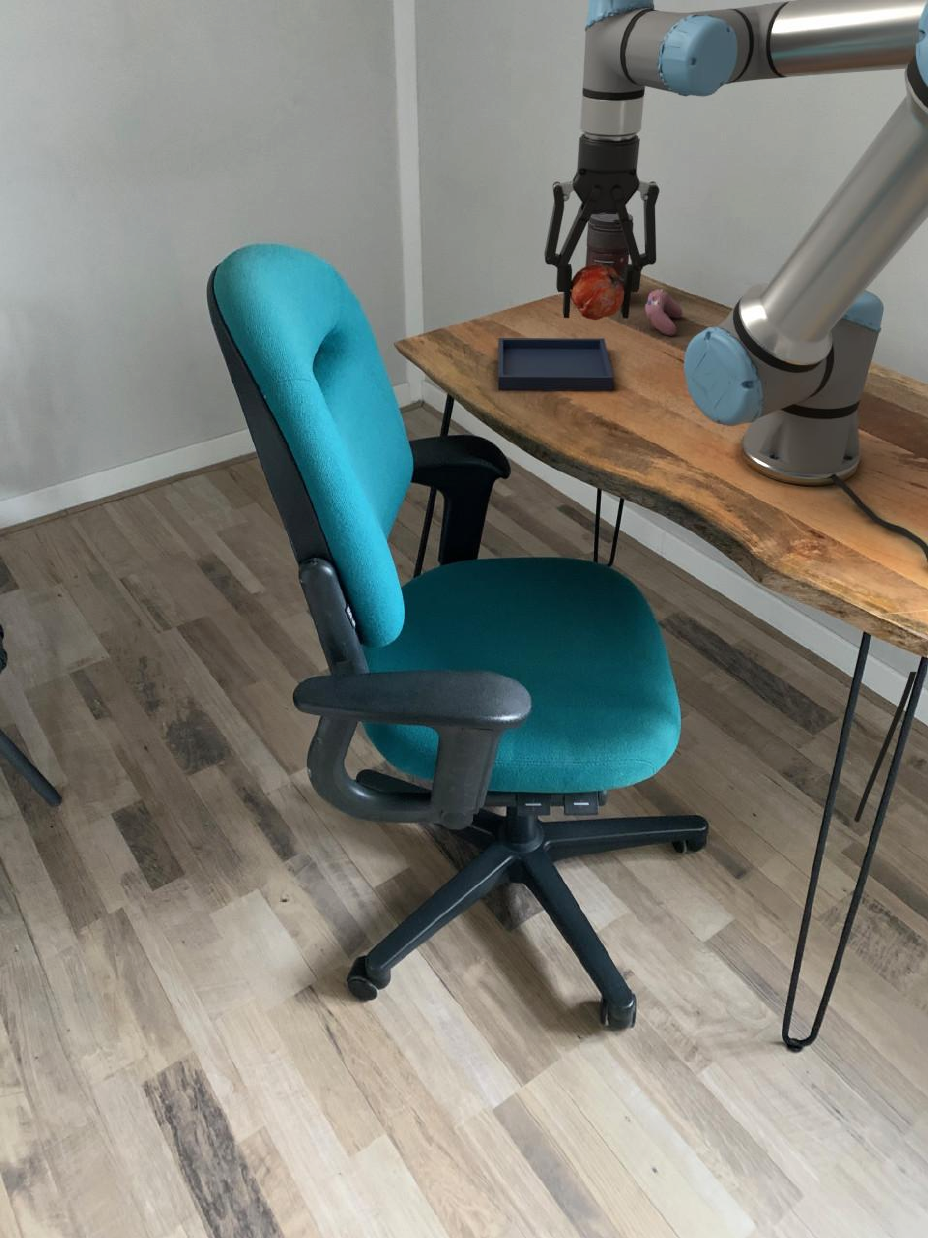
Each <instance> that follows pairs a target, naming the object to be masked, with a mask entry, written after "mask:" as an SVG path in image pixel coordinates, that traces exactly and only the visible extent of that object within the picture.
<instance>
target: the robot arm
mask: <svg viewBox="0 0 928 1238" xmlns="http://www.w3.org/2000/svg"><path fill="white" fill-rule="evenodd" d="M584 31H585V36H584V37H585V39H584V54H583V55H584V56H583V57H584V58H583V73H582V75H583V76H582V91H581V93H582V95H581V107H580V123H579V125H580V126H579V129H580V130H581V132H582V134H581V135H580V136H579V138H578V154H577V168H576V173H575V175H574V177H573V178H572V180H569V181H564V182H560V181H554V182H553V183H552V186H551V189H552V195H553V205H552V210H551V211H552V212H551V215H550V222H549V228H548V232H547V237H546V243H545V249H544V255H543V256H544V262H545V263H546V265H549V266H550V265H551V266H554V267H555V268H556V281H555V282H556V283H555V286H556V291H557V293H563V302H562V315H563V319H570V313H571V300H572V299H571V291H572V290H571V283H572V279H573V267H572V264H571V263H570V262H571V259H572V257H573V254H574V252H575V250H576V248H577V246H578V244H579V242H580V239H581V237H582V235H583V233H584V231H585V228H586V225H588V221H589V219H590V217H591V215H592V214H601V213H608V214H616V213H617V214H618V217H619V221H620V224H621V228H622V231H623V234H624V238H625V241H626V245H627V248H628V251H629V259H630V262H631V263H628V264H625V273H624V280H625V281H624V284H623V287H624V292H625V294H624V302H623V304H622V306H621V307H620V313H621V316H622V319H629V317H630V306H631V298H632V297H631V296H632V293H638V292H639V290H640V285H641V275H642V270H643V269H644V267H646V266H648V265H654V264H656V262H657V232H656V231H657V230H656V229H657V228H656V227H657V225H656V223H657V222H656V205H657V202H658V198H659V195H660V187H659V185H658V183H656V181H654V180H653V181H649V182H647V181H642V180H640V178H639V177H638V162H639V154H640V153H639V152H640V141H641V139H640V137H639V136H638V135H637V134H638V133H639V132H640V131H641V130H642V121H643V110H644V98H645V92H646V90H645V89H646V88H647V87H648V88H652V89H656V90H661V91H665V92H670V93H673V94H677V95H679V96H681V97H689V96H694V97H709V96H712V95H714V94H715V93H717V92H718V91H719V89H721V88H722V87H724V86H725V85H729V84H735V83H742V82H750V81H751V82H752V81H758V80H773V79H774V80H775V79H786V78H792V77H793V78H795V77H807V76H822V75H835V74H849V73H851V74H852V73H864V72H865V73H866V72H877V71H890V70H891V71H893V70H903V69H904V83H905V91H906V95H905V97H904V98H903V100H901V102H900V103H899V105H898V106H897V108H896V109H895V110H894V112H893V113H892V115H891V116H890V117H889V118H888V119H887V121H886V122H885V124H884V125H883V126H882V128H881V129H880V131H879V132H878V134H877V135H876V136H875V137H874V139H873V140H872V141H871V143H870V144H869V146H867V149H866V150H865V151H864V152H863V154H862V155H861V156H860V158H859V159H858V160H857V162H856V163H855V165H854V166H853V167H852V169H851V170H850V171H849V173H848V174H847V175H846V177H845V178H844V179H843V181H842V183H840V184H839V186H838V188H837V189H836V190H835V192H834V193H833V194H832V196H831V197H830V198H829V200H828V201H827V203H826V204H825V205H824V207H823V208H822V209H821V211H820V212H819V214H818V215H817V216H816V217H815V219H814V220H813V222H812V223H811V224H810V226H809V227H808V228H807V230H806V231H805V232H804V234H803V235H802V237H800V239H799V241H798V242H797V244H796V245H795V246H794V248H793V249H792V250H791V252H790V253H789V254H788V256H787V257H786V259H784V261H783V262H782V264H781V265H780V266H779V268H778V269H777V271H776V272H775V273H774V275H773V276H772V277H771V278H770V280H769V281H768V283H758V284H755V285H753V286H751V287H750V288H748V289H747V290H746V291H745V292H744V293H743V295H742V296H741V297H740V298H739V300H737V303H736V304H735V305H734V306H733V308H732V309H731V311H730V312H729V314H728V315H727V316H726V318H725V319H724V320H723V321H722V322H721V323H720V324H718V325H717V326H709V327H707V328H706V329H702V331H701V332H699V333H697V334H696V335H695V336H694V337H693V338H692V339H691V340H690V342H689V344H688V346H687V348H686V351H685V354H684V358H683V372H684V375H685V383H686V387H687V391H688V393H689V396H690V397H691V399H692V401H693V403H694V405H695V406H696V408H698V410H699V411H700V412H701V413H702V414H703V415H704V416H705V418H707V419H709V420H710V421H711V422H713V423H716V424H717V425H723V426H725V427H735V426H739V425H742V424H749V423H750V424H749V425H748V427H747V429H746V430H745V433H744V435H743V437H742V441H741V446H740V455H741V457H742V460H743V461H744V462H745V464H747V466H749V467H750V468H751V469H752V470H754V471H756V472H758V473H760V474H761V475H763V476H766V477H768V478H770V479H773V480H776V481H779V482H783V483H789V484H793V485H794V484H795V485H799V486H800V485H802V486H825V485H832V484H836V485H837V486H838V487H839V488H840V489H841V490H842V491H843V492H844V493H845V494H846V495H847V496H848V497H849V498H850V499H851V500H852V501H853V503H855V505H857V507H858V508H859V509H860V510H861V511H862V512H863V513H864V514H865V515H866V516H867V517H868V518H869V519H870V520H872V521H873V523H875V524H877V525H878V526H880V527H882V528H885V529H887V530H889V531H894V532H896V533H899V534H900V535H902V536H904V537H906V538H907V539H909V540H910V541H912V542H913V543H915V544H916V545H917V546H919V547H920V549H921V550H922V552H923V553H924V555H925V559H926V562H927V563H928V544H927V542H925V541H924V540H923V539H922V538H921V537H919V536H917V534H914V533H913V532H912V531H910V530H909V529H907V528H905V527H902V526H900V525H897V524H894V523H891V522H888V521H887V520H884V519H882V518H881V517H879V516H878V515H877V514H876V513H875V512H874V511H872V510H871V508H870V507H868V506H867V505H866V504H865V502H863V501H862V499H861V498H859V495H857V494H856V493H855V492H854V491H853V490H852V489H851V488H850V487H849V486H848V485H847V484H846V483H845V482H844V481H845V480H848V479H849V478H850V477H853V475H854V474H855V473H856V471H857V470H858V466H859V462H860V458H861V444H860V443H861V442H860V432H859V430H860V429H859V421H858V420H859V419H858V410H859V407H860V403H861V398H862V396H863V392H864V389H865V385H866V381H867V377H868V375H869V370H870V367H871V363H872V360H873V357H874V353H875V349H876V346H877V343H878V339H879V336H880V333H881V332H882V327H881V326H882V321H883V315H884V311H885V306H884V303H883V301H882V300H881V299H880V298H879V296H877V295H876V294H874V293H873V292H871V291H870V290H867V289H868V288H869V286H870V285H871V284H872V283H873V282H874V281H875V279H876V278H877V277H878V276H879V275H880V273H881V272H882V271H883V270H884V269H885V268H886V267H887V266H888V264H889V263H890V262H891V261H892V259H893V258H894V257H895V256H896V255H897V254H898V252H899V251H900V250H901V249H903V247H904V246H905V245H906V243H907V242H908V241H909V240H910V239H911V237H913V235H914V234H915V233H916V231H917V230H918V229H919V228H920V227H921V226H922V225H923V224H924V222H925V221H926V220H927V219H928V0H789V1H787V0H786V1H779V2H771V3H764V4H759V5H751V6H743V7H736V8H735V7H734V8H725V9H724V8H723V9H713V10H712V9H711V10H702V11H691V12H677V11H675V12H674V11H664V10H658V9H655V3H654V0H588V5H587V14H586V22H585V25H584ZM572 192H575V194H576V195H577V198H578V199H579V201H580V202H581V203H580V206H579V207H578V211H577V213H576V216H575V218H574V220H573V223H572V225H571V227H570V229H569V232H568V234H567V235H566V238H565V240H564V242H563V245H562V248H561V249H560V251H559V253H556V252H557V247H558V243H559V238H560V233H561V227H562V222H563V217H564V212H565V202H567V201H569V199H570V198H571V197H570V196H571V193H572ZM637 192H639V197H640V199H641V200H642V201H643V206H642V207H643V234H644V252H643V253H641V254H640V252H639V247H638V244H637V241H636V236H635V234H634V229H633V230H632V226H631V223H630V219H629V216H628V214H629V212H628V208H627V204H628V203H629V202H630V200H631V199H632V198H633V197H634V195H635V194H636V193H637ZM917 673H918V672H917V671H910V672H909V674H908V676H907V677H908V678H907V680H906V683H905V687H904V689H903V692H902V695H901V698H900V701H899V703H898V706H897V708H896V711H895V714H894V716H893V719H892V721H891V723H890V726H889V729H888V732H887V734H886V737H885V739H884V741H883V743H882V746H881V749H880V750H879V753H878V756H877V758H876V762H875V763H874V766H873V769H872V770H871V774H870V776H869V778H868V781H867V784H866V786H865V789H864V792H863V793H862V797H861V799H860V802H859V804H858V808H857V810H856V813H855V816H854V819H853V820H854V822H855V823H860V821H861V818H862V815H863V813H864V810H865V807H866V805H867V802H868V800H869V797H870V794H871V792H872V789H873V786H874V784H875V781H876V778H877V776H878V773H879V771H880V769H881V767H882V764H883V762H884V759H885V757H886V754H887V752H888V750H889V747H890V745H891V742H892V739H893V737H894V735H895V733H896V730H897V727H898V725H899V722H900V720H901V718H902V714H903V712H904V710H905V707H906V704H907V701H908V698H909V696H910V693H911V690H912V687H913V684H914V681H915V679H916V676H917Z"/></svg>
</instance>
